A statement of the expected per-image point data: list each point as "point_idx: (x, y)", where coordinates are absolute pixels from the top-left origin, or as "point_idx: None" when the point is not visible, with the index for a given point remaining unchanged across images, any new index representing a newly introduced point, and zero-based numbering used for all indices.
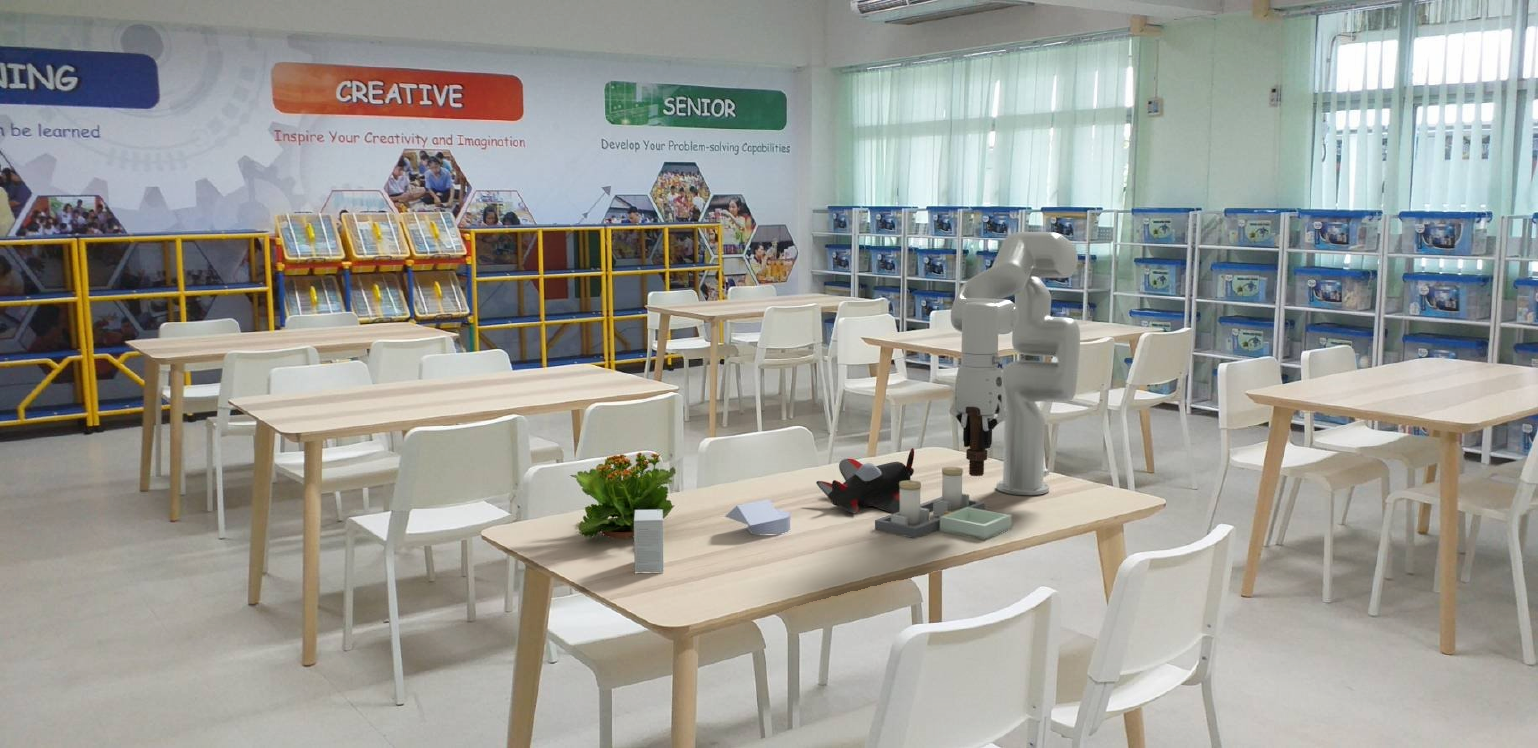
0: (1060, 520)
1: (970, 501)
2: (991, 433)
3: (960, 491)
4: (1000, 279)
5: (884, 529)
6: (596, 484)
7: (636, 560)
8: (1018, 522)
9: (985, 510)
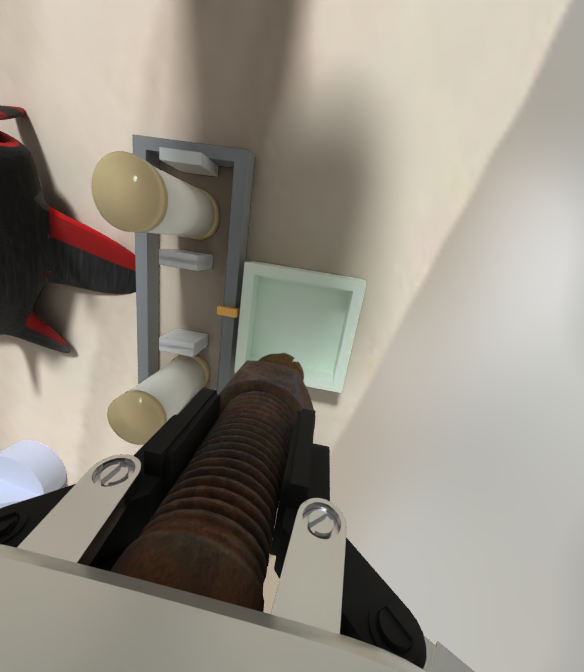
0: (458, 126)
1: (212, 158)
2: (328, 498)
3: (193, 209)
4: None
5: None
6: None
7: None
8: (361, 212)
9: (295, 271)
